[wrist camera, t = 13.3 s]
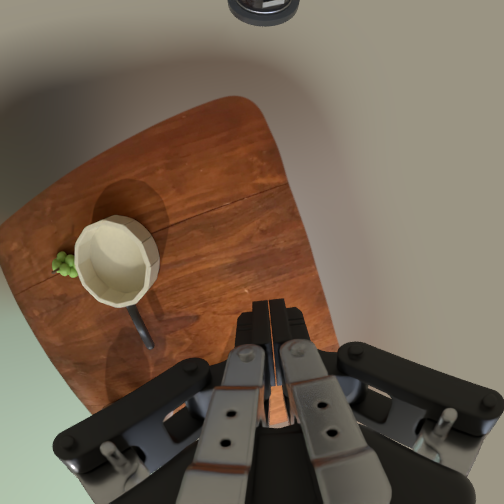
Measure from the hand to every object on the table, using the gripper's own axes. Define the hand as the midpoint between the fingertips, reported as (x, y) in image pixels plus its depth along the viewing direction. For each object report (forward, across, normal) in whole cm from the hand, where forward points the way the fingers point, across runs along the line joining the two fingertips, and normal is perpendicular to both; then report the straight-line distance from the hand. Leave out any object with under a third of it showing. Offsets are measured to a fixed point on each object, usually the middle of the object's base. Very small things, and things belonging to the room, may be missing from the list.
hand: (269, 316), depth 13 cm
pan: (+29, +23, +8) cm, 38 cm away
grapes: (+29, +36, +4) cm, 46 cm away
